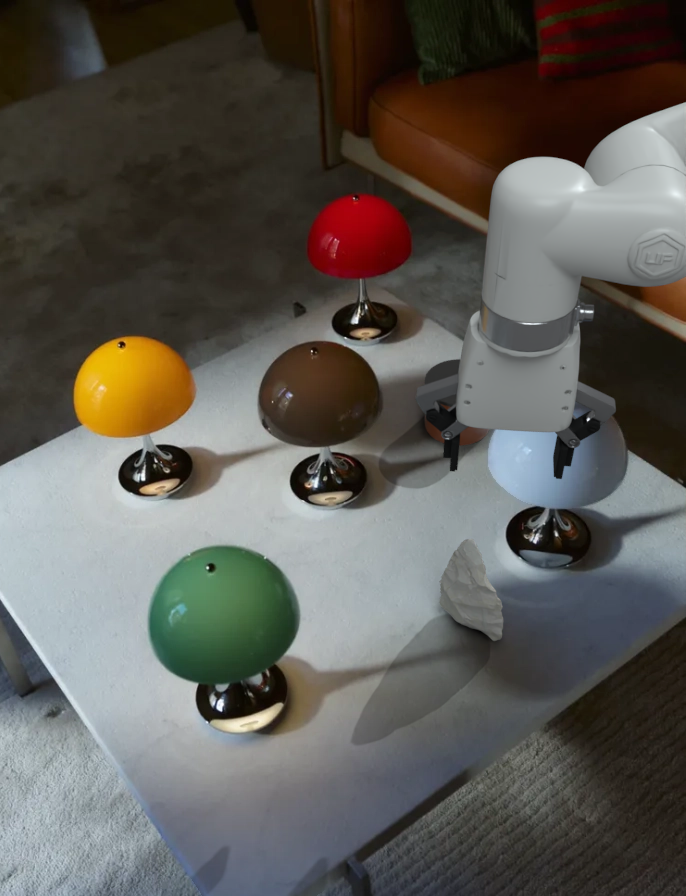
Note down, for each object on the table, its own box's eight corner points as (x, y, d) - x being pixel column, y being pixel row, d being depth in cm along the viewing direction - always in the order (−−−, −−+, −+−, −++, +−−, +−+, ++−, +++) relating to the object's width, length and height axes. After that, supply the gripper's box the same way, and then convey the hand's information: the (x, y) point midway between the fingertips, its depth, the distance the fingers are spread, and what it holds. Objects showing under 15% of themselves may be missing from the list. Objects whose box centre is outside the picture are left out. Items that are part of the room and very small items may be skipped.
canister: (492, 402, 136) (496, 360, 130) (491, 448, 129) (496, 406, 124) (425, 399, 137) (426, 357, 131) (420, 444, 130) (422, 402, 125)
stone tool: (431, 617, 110) (436, 533, 99) (446, 601, 112) (452, 515, 101) (494, 655, 106) (506, 570, 95) (508, 637, 108) (522, 552, 97)
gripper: (632, 293, 78) (597, 443, 91) (422, 284, 81) (416, 432, 93) (640, 349, 73) (601, 500, 86) (416, 337, 75) (410, 486, 88)
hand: (505, 464), depth 89 cm, fingers open, 9 cm apart
